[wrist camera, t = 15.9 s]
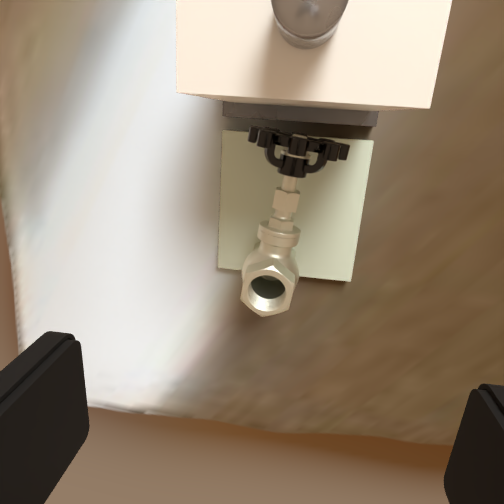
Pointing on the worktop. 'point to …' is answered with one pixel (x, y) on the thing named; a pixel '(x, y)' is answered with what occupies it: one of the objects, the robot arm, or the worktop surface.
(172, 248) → the worktop surface
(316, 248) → the pad
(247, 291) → the valve
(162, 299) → the worktop surface
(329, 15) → the pump housing
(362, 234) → the worktop surface
